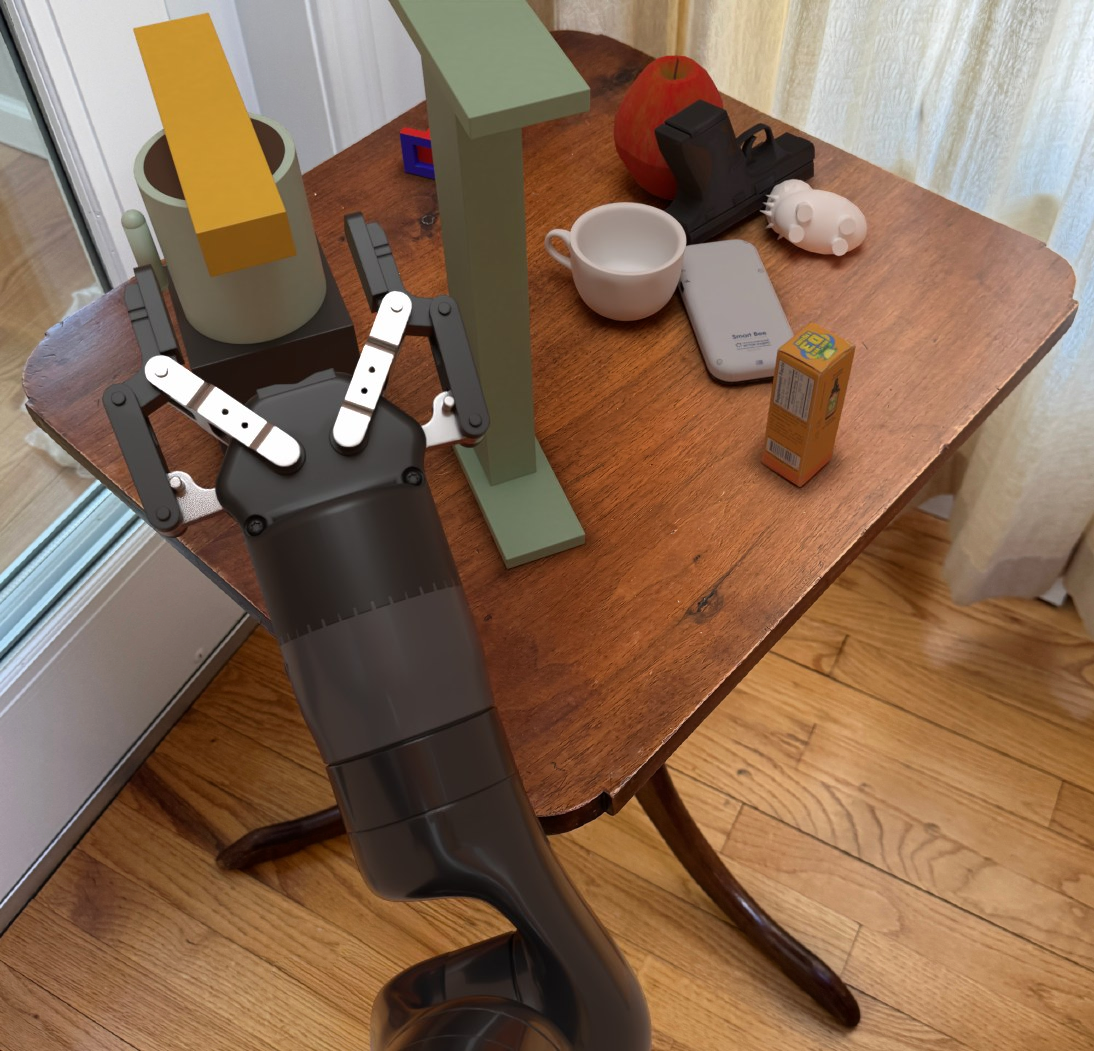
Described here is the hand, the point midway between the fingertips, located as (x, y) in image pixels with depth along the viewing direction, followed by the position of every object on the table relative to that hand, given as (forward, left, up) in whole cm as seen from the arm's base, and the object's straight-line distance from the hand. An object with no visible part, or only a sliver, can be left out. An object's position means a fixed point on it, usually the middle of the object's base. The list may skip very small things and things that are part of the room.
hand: (249, 245), depth 46 cm
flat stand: (+12, +4, -25) cm, 28 cm away
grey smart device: (+31, +12, -23) cm, 40 cm away
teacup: (+24, +17, -25) cm, 39 cm away
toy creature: (+39, +15, -22) cm, 47 cm away
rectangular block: (0, +13, -4) cm, 13 cm away
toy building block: (+16, +38, -23) cm, 48 cm away
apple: (+33, +27, -25) cm, 49 cm away
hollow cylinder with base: (0, +13, -25) cm, 28 cm away
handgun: (+36, +23, -15) cm, 45 cm away
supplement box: (+29, -1, -25) cm, 38 cm away
